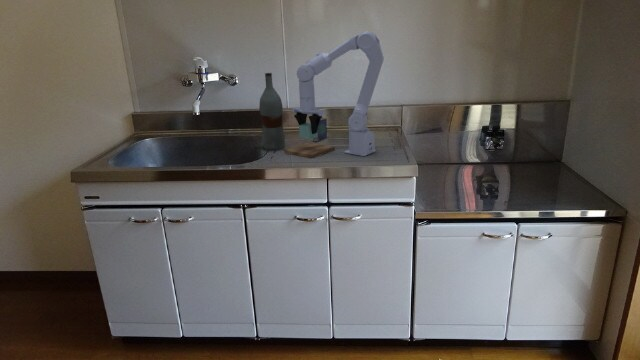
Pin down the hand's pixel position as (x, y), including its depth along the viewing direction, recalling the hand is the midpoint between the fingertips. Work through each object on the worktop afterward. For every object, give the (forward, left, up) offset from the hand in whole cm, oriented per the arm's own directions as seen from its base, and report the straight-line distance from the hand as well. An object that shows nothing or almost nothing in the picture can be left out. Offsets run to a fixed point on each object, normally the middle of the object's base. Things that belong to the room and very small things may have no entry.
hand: (308, 132), depth 171 cm
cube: (0, 0, -2) cm, 2 cm away
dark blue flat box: (+9, -17, -8) cm, 21 cm away
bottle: (+17, +3, -8) cm, 19 cm away
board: (0, 0, -8) cm, 8 cm away
